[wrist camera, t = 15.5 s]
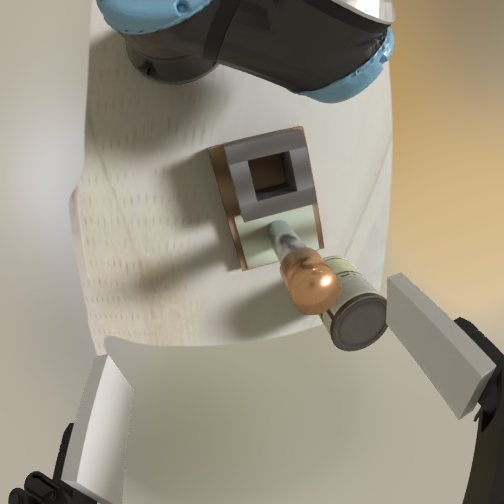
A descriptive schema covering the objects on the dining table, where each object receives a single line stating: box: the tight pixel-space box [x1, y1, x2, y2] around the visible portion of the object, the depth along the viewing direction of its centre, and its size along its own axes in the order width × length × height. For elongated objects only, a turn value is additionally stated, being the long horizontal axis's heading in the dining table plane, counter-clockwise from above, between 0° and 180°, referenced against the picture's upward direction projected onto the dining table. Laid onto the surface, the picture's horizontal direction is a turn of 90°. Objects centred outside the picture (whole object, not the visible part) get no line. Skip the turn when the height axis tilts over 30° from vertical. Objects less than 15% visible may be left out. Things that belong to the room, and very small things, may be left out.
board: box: [208, 126, 324, 271], centre depth 42 cm, size 20×14×8 cm
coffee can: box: [318, 256, 388, 351], centre depth 47 cm, size 10×10×14 cm
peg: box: [266, 220, 342, 315], centre depth 38 cm, size 5×5×18 cm
